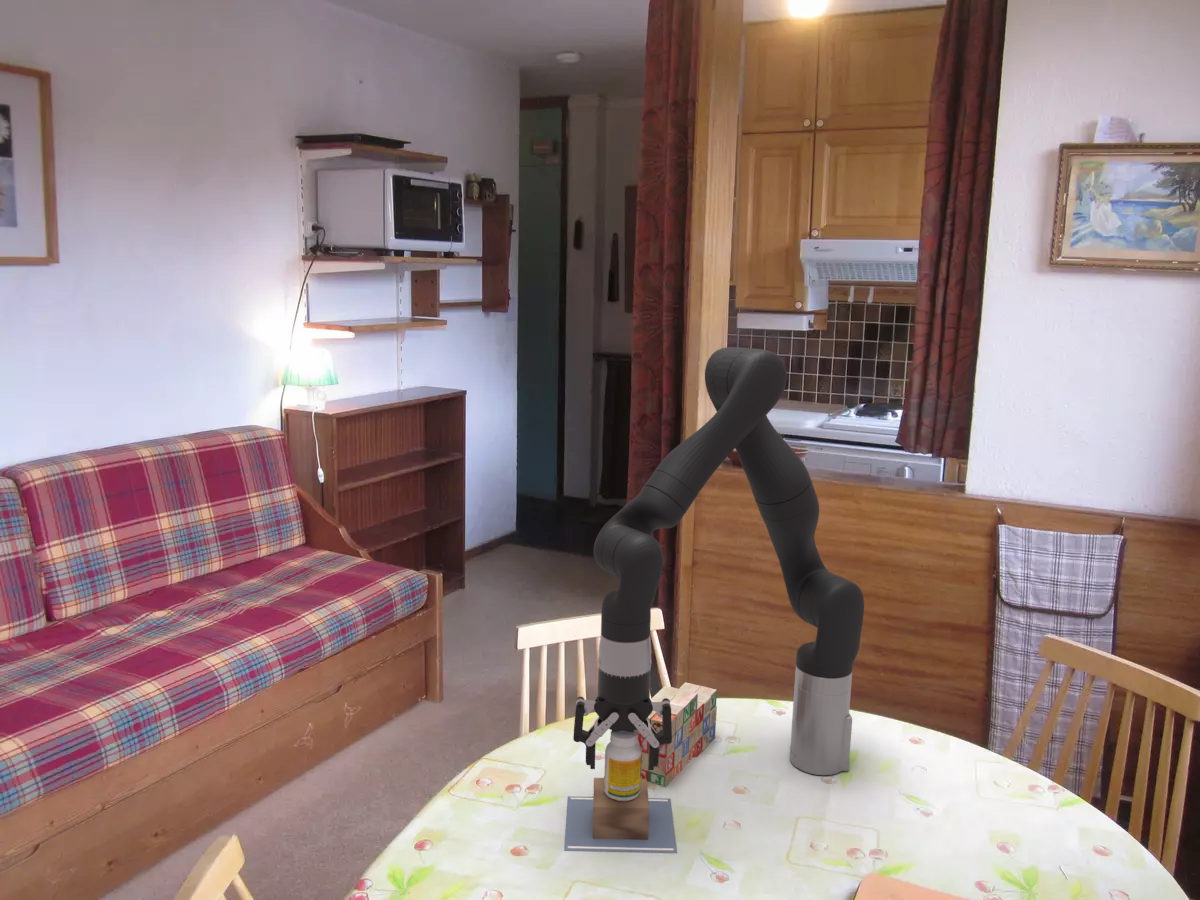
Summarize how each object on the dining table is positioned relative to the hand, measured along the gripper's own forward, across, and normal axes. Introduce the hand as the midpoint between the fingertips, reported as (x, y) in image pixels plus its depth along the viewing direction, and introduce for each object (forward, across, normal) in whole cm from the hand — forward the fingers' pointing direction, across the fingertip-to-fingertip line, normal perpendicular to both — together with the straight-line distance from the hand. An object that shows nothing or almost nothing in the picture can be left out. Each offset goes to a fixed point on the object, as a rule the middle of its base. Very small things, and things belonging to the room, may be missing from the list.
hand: (621, 767), depth 140 cm
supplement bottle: (+4, 0, 0) cm, 4 cm away
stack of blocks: (+10, -10, -21) cm, 26 cm away
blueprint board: (+10, 0, 0) cm, 10 cm away
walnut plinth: (+9, 0, 0) cm, 9 cm away
